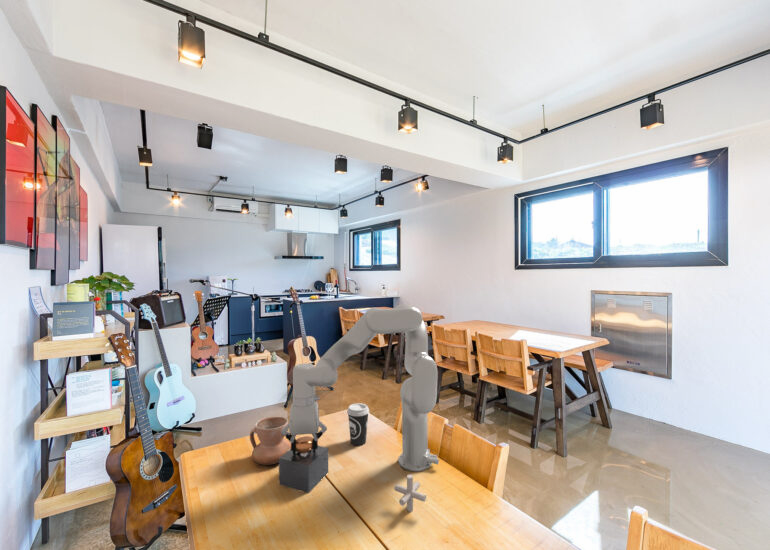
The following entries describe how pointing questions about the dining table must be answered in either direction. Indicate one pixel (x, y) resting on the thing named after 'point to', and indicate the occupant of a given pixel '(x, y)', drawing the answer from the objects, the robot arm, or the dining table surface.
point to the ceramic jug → (269, 440)
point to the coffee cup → (358, 423)
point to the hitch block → (303, 469)
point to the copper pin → (304, 445)
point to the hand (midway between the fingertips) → (304, 451)
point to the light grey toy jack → (409, 493)
